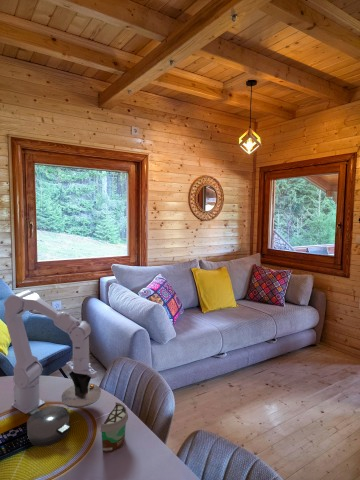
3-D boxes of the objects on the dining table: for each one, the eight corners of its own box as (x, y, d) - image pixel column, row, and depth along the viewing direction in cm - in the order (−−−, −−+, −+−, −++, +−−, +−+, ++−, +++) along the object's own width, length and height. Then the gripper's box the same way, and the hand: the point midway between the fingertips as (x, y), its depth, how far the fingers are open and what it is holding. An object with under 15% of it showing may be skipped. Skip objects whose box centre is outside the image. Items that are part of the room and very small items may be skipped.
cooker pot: (14, 433, 106) (14, 418, 105) (49, 412, 117) (48, 399, 116) (48, 455, 96) (47, 440, 96) (82, 430, 107) (82, 417, 107)
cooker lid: (53, 399, 116) (53, 387, 115) (83, 381, 127) (83, 371, 127) (79, 412, 108) (78, 400, 108) (108, 392, 120) (108, 381, 120)
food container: (119, 459, 95) (119, 428, 94) (100, 456, 96) (100, 425, 96) (133, 431, 107) (133, 403, 106) (116, 428, 108) (116, 401, 108)
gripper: (103, 356, 116) (103, 392, 117) (76, 347, 124) (77, 380, 125) (88, 364, 110) (88, 401, 111) (61, 353, 118) (61, 388, 119)
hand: (81, 390), depth 118 cm, fingers closed on cooker lid, 2 cm apart
